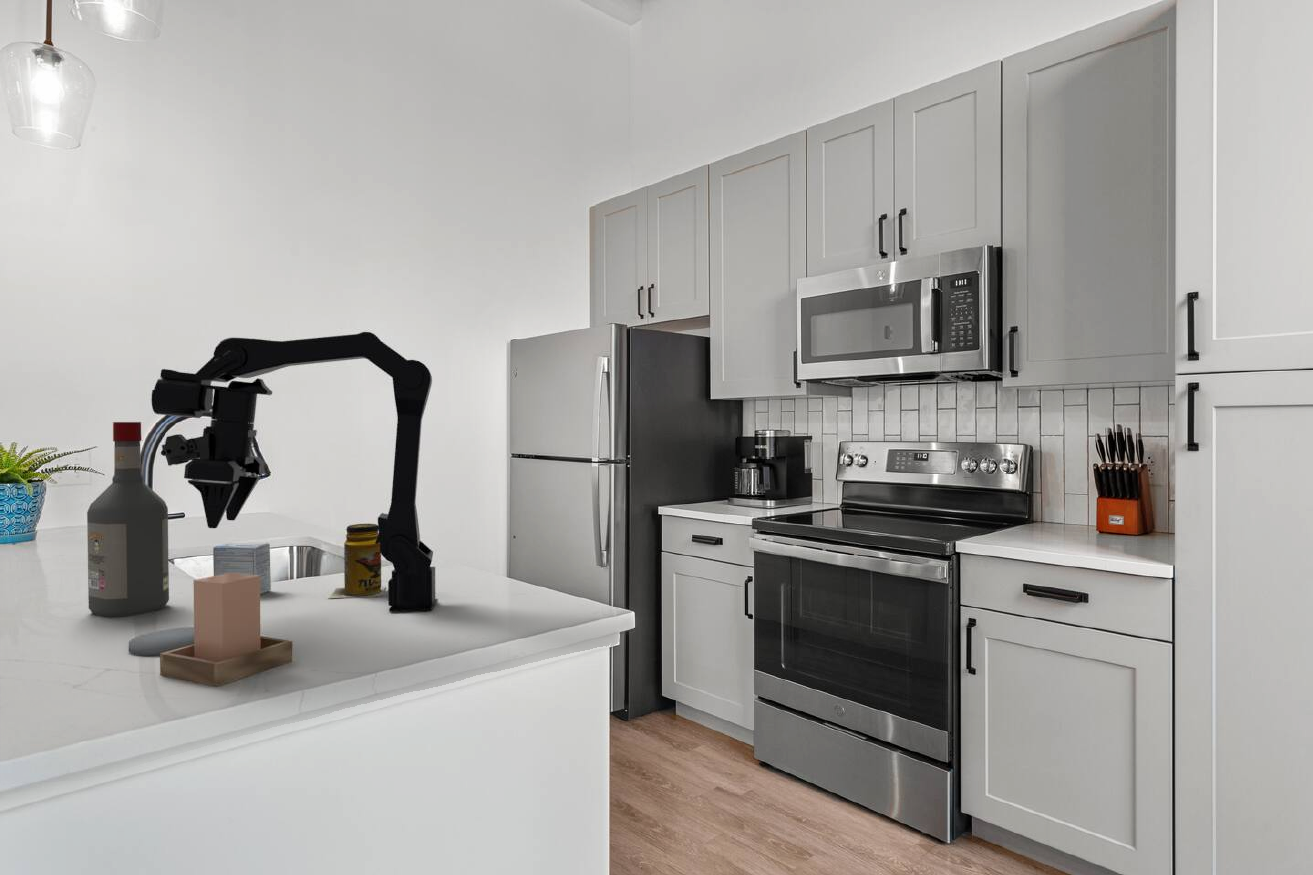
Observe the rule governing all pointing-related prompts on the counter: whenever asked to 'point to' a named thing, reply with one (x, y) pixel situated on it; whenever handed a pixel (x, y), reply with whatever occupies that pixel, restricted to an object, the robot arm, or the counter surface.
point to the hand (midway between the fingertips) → (221, 523)
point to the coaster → (161, 641)
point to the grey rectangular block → (244, 561)
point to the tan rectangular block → (226, 616)
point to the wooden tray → (225, 663)
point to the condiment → (361, 563)
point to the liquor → (127, 537)
